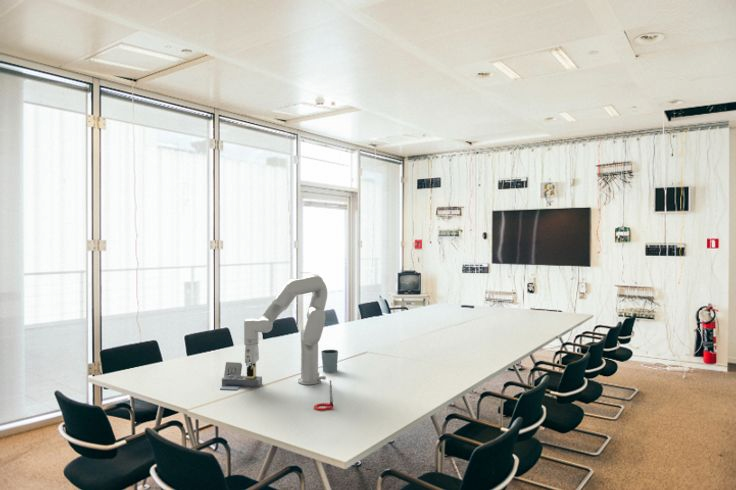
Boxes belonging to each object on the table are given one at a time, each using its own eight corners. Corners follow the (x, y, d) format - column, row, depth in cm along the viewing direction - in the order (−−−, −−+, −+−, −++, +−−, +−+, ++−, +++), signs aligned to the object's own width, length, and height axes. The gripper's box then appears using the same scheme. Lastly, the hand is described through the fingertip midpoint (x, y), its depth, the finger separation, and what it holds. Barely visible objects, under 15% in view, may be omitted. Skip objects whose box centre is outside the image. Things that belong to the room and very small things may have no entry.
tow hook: (313, 412, 228) (333, 410, 229) (312, 384, 228) (332, 382, 228) (313, 406, 236) (333, 404, 237) (312, 379, 236) (332, 378, 237)
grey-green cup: (335, 373, 292) (335, 353, 292) (319, 372, 294) (319, 352, 294) (339, 369, 302) (339, 349, 302) (324, 368, 304) (324, 348, 304)
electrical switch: (223, 379, 280) (224, 362, 280) (227, 377, 285) (228, 361, 285) (238, 380, 278) (239, 363, 279) (242, 378, 283) (243, 362, 284)
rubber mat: (240, 387, 263) (240, 386, 263) (236, 390, 258) (236, 389, 258) (223, 386, 264) (223, 385, 264) (220, 389, 259) (220, 388, 259)
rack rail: (262, 383, 270) (262, 376, 270) (257, 387, 263) (257, 380, 263) (226, 382, 272) (226, 375, 272) (221, 386, 266) (221, 378, 265)
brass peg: (256, 383, 269) (256, 365, 269) (253, 386, 265) (253, 367, 265) (249, 383, 270) (249, 365, 270) (246, 385, 266) (246, 367, 266)
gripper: (252, 344, 259) (253, 379, 259) (262, 338, 275) (263, 371, 275) (239, 344, 259) (239, 379, 260) (249, 338, 276) (250, 370, 276)
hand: (251, 374), depth 267 cm, fingers closed on brass peg, 4 cm apart
